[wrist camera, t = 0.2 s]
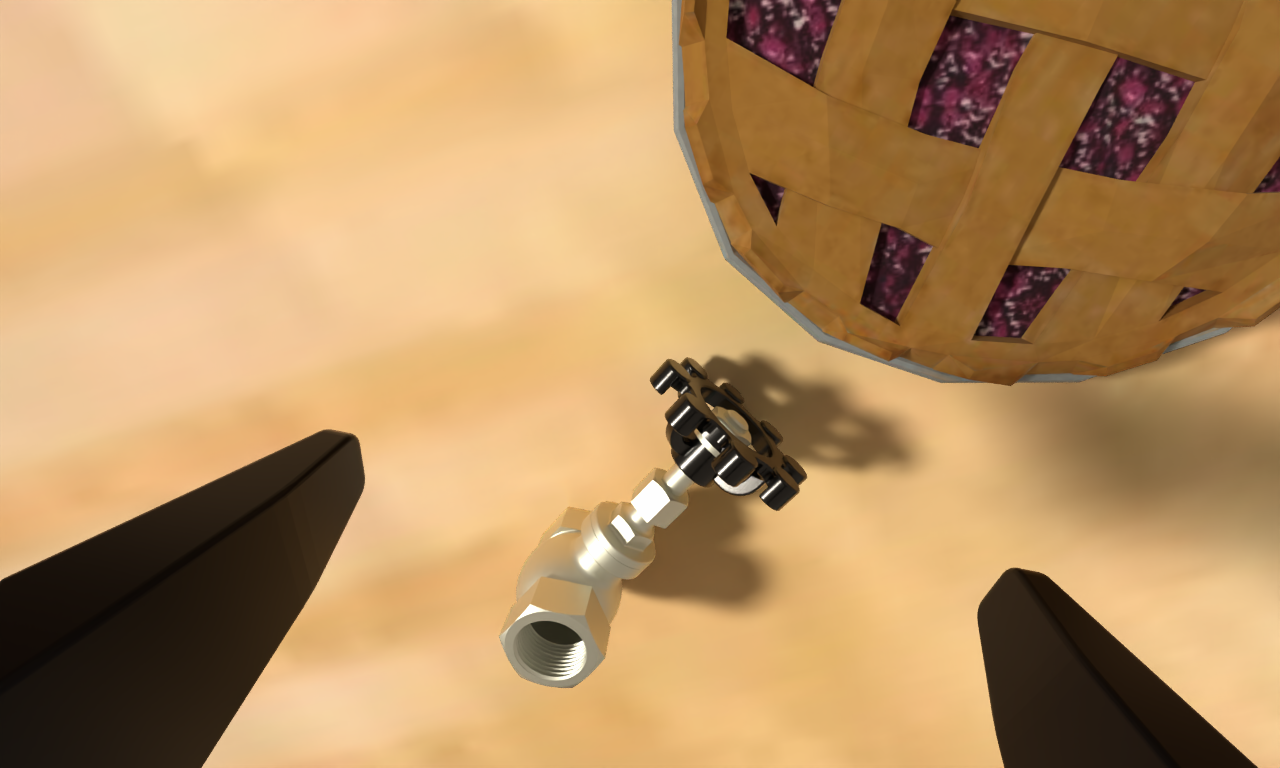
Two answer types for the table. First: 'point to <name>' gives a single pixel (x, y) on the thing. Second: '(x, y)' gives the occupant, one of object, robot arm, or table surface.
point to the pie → (991, 173)
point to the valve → (636, 528)
